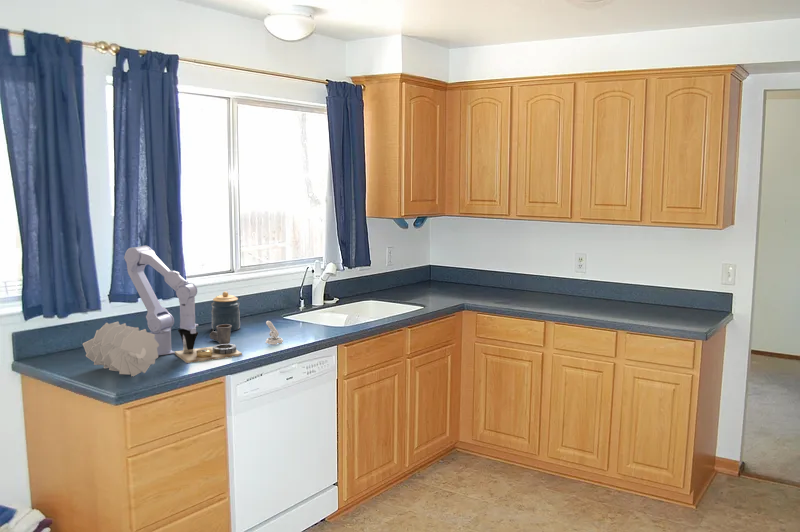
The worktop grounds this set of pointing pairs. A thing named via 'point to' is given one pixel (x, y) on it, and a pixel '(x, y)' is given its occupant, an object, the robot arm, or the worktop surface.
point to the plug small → (204, 353)
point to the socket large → (224, 348)
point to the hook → (273, 334)
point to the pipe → (222, 334)
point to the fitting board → (193, 358)
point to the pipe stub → (186, 347)
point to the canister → (225, 311)
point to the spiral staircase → (122, 348)
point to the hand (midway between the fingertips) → (188, 347)
